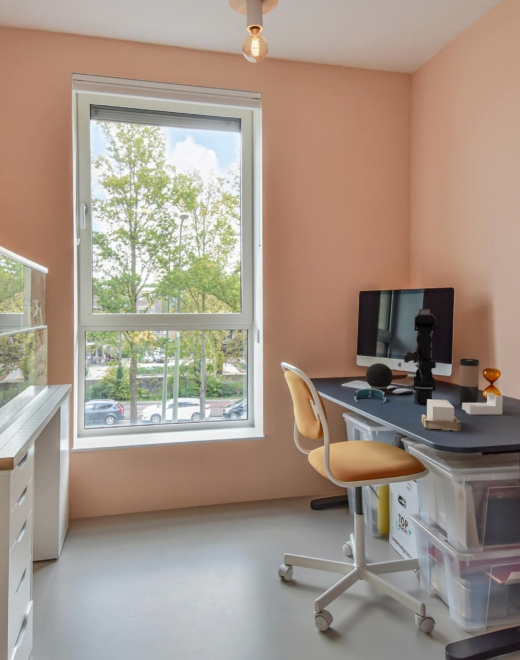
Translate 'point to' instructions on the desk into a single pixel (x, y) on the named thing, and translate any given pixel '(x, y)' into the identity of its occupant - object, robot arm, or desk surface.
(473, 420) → the desk surface
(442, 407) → the white cardboard box
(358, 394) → the sunglasses
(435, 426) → the birch slot
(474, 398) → the travel mug
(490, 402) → the bracket
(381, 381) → the black ball on stand
